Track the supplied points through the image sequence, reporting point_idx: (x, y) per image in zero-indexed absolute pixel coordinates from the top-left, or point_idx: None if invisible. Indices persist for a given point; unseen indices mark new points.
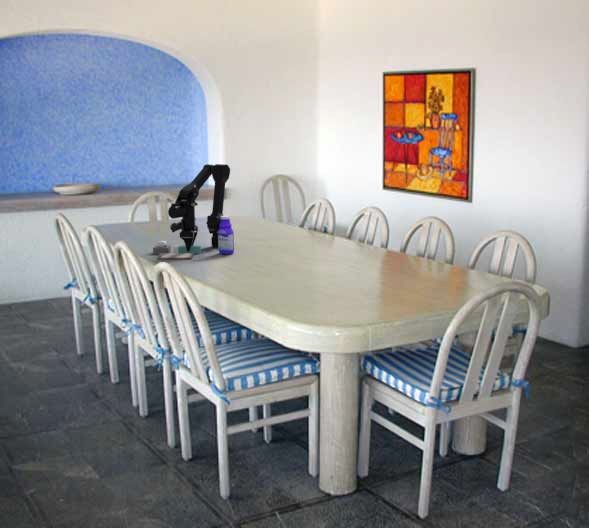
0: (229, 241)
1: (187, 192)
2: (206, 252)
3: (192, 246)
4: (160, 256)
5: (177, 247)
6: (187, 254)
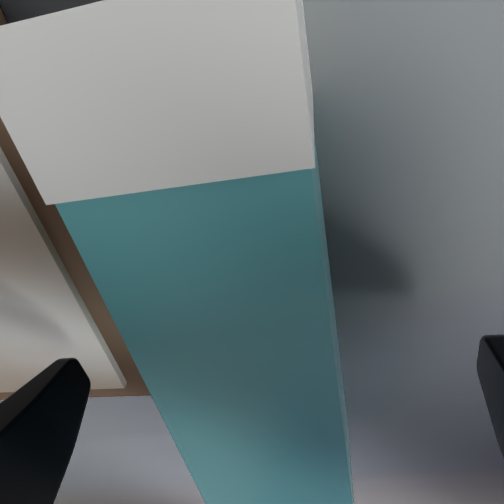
0: None
1: None
2: (357, 467)
3: (222, 468)
4: None
5: (49, 170)
6: (7, 346)
